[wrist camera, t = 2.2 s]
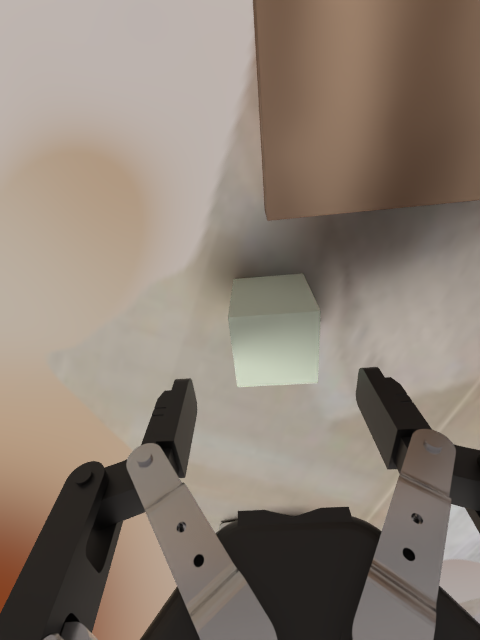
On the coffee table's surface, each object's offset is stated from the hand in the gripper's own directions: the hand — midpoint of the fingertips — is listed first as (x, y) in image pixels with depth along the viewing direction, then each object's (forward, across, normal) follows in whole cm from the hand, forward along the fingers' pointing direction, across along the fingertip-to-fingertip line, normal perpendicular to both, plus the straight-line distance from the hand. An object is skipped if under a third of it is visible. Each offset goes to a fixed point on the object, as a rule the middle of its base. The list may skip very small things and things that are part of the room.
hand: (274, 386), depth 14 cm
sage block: (+9, 0, 0) cm, 9 cm away
